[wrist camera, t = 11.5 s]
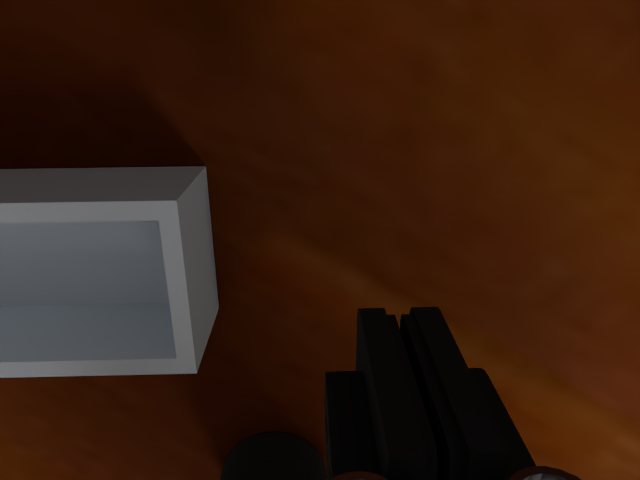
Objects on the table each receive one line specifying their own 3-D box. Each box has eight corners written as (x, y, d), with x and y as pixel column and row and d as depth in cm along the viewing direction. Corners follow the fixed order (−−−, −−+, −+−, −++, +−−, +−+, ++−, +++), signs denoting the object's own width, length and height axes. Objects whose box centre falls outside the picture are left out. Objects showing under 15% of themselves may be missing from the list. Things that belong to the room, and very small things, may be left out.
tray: (-122, 314, 21) (-231, 382, 17) (-175, 171, 19) (-316, 207, 14) (218, 308, 21) (196, 373, 17) (206, 166, 19) (176, 200, 15)
